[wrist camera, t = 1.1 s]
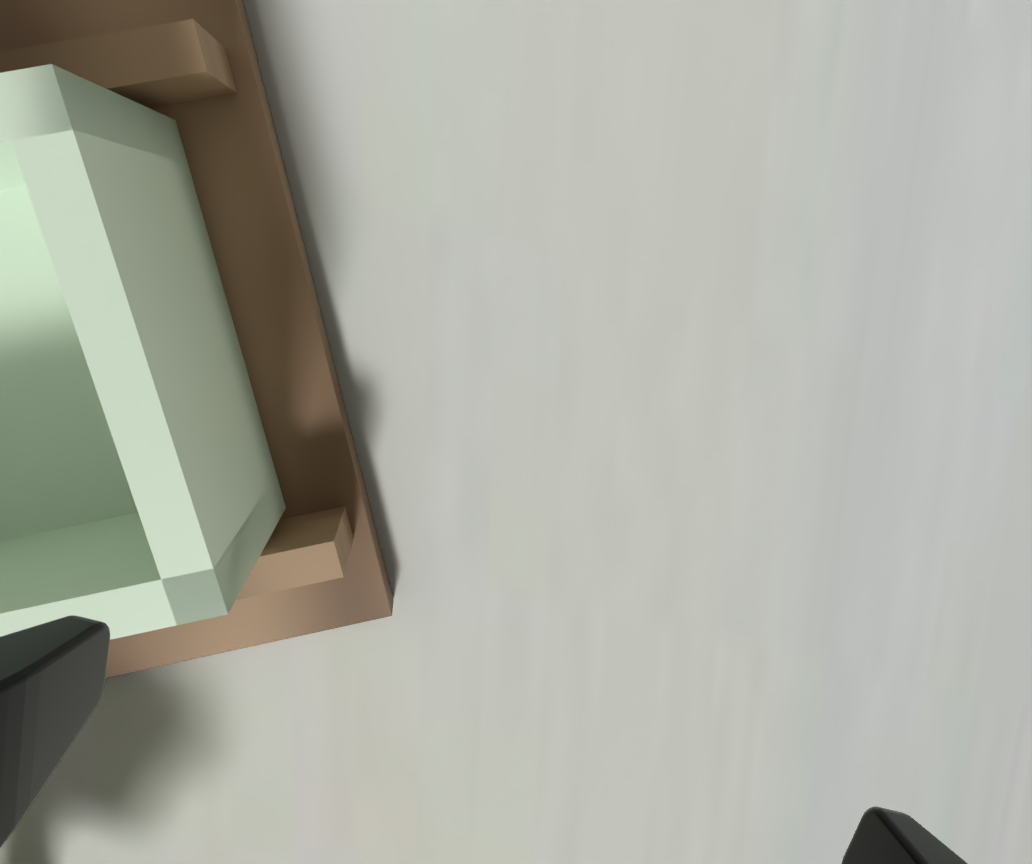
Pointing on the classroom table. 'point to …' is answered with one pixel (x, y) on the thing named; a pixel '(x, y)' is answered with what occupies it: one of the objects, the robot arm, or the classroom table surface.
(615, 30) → the classroom table surface
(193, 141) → the wooden serving tray
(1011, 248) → the classroom table surface
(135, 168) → the sage green bevelled box
